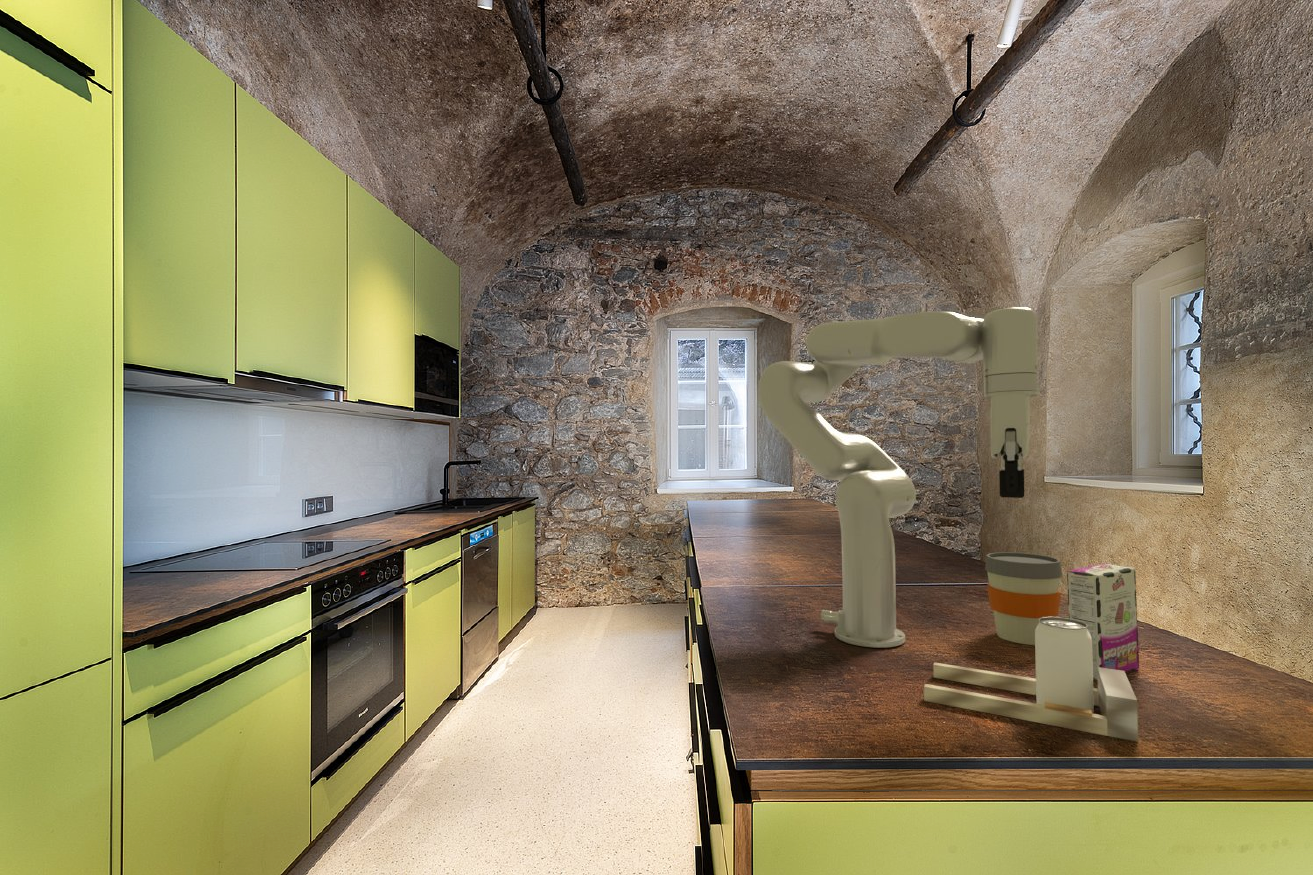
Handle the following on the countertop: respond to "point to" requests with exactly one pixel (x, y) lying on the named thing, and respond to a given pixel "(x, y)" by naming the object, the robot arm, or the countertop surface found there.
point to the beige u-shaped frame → (1109, 696)
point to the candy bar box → (1107, 613)
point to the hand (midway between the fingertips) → (1012, 495)
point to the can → (1064, 663)
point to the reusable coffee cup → (1022, 592)
